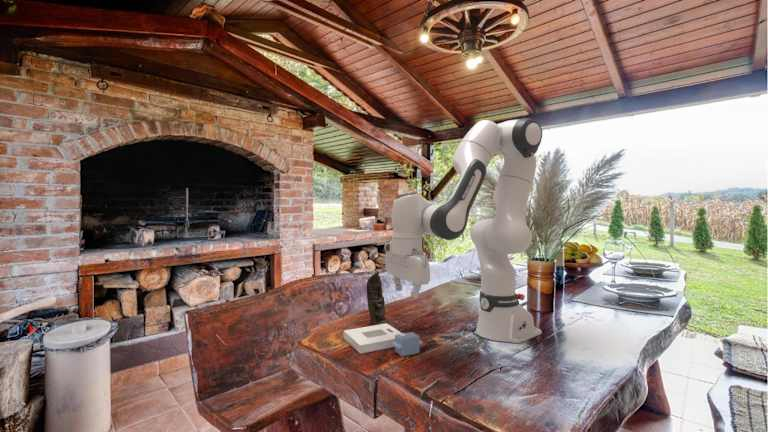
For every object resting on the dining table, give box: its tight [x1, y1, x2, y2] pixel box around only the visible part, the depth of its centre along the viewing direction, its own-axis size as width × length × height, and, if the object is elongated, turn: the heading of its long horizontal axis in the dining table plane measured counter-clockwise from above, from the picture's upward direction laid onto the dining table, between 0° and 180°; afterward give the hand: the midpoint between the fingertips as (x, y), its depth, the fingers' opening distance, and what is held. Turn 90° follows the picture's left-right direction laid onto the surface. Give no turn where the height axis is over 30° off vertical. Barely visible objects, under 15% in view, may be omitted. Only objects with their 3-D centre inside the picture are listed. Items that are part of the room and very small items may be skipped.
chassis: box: [343, 323, 402, 355], centre depth 114 cm, size 16×14×3 cm
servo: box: [392, 331, 424, 357], centre depth 105 cm, size 8×4×6 cm, turn 117°
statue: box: [366, 270, 389, 326], centre depth 130 cm, size 7×7×20 cm
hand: (406, 294), depth 105 cm, fingers open, 8 cm apart
